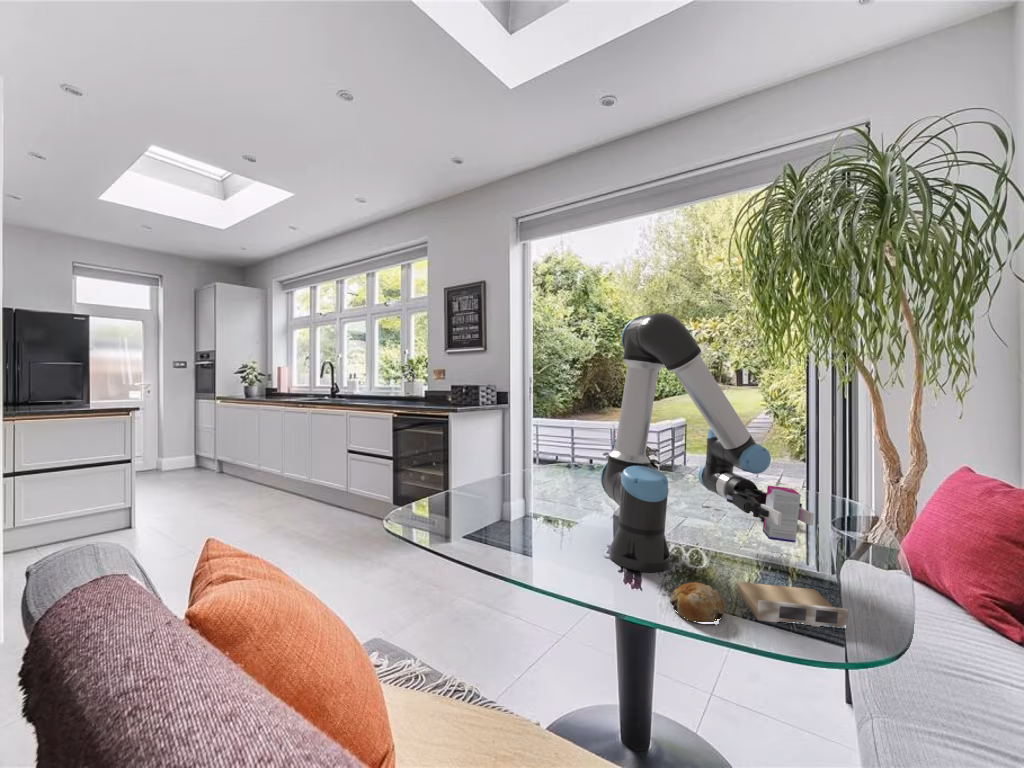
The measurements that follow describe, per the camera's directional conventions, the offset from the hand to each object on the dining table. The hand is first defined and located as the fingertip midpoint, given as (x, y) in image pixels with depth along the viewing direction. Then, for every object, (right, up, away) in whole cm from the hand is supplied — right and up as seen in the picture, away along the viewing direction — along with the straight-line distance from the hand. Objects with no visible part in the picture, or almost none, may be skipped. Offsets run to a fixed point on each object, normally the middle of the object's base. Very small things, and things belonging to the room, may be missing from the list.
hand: (795, 519), depth 109 cm
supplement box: (-1, -6, +5) cm, 8 cm away
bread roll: (-26, -18, -8) cm, 32 cm away
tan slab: (-4, -18, -4) cm, 19 cm away
